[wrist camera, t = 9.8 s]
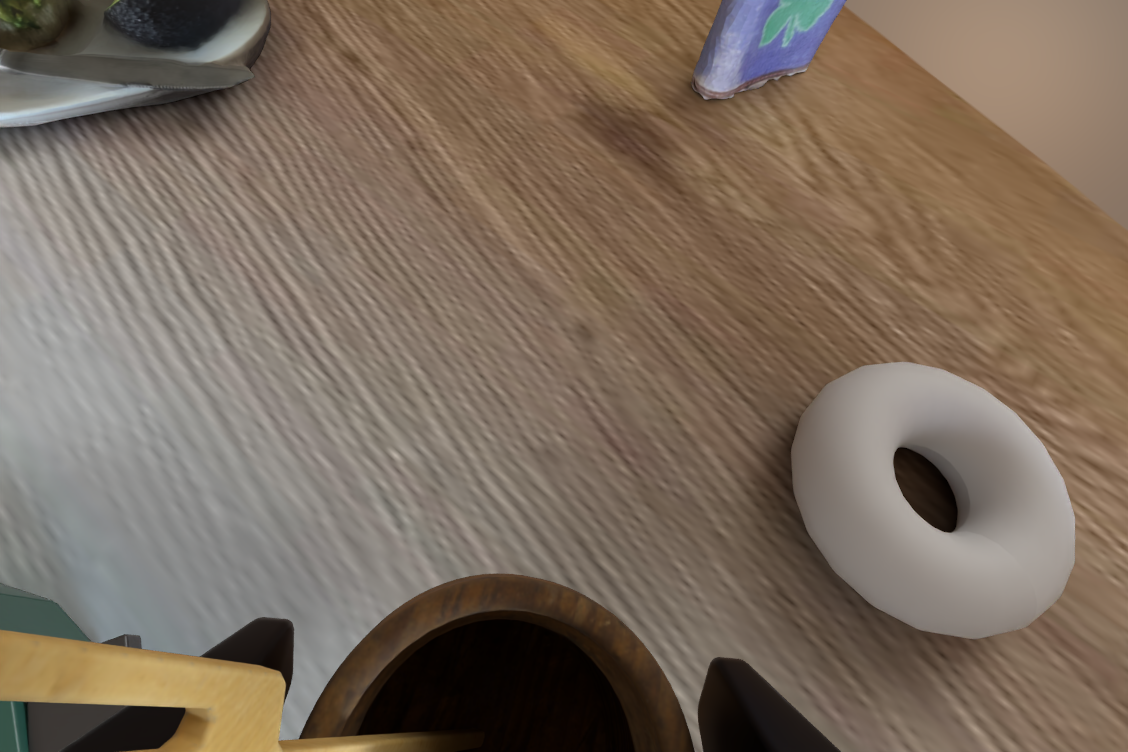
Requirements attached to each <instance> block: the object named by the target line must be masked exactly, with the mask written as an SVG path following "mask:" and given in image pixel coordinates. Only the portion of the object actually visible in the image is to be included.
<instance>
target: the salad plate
mask: <svg viewBox="0 0 1128 752" xmlns="http://www.w3.org/2000/svg"><path fill="white" fill-rule="evenodd" d="M270 25H271V12H270V8H269V4H268V1H267V0H0V128H1V127H19V126H32V125H39V124H43V123H47V122H52V121H56V120H61V119H66V118H71V117H77V116H84V115H89V114H94V113H100V112H105V111H111V110H118V109H125V108H131V107H139V106H148V105H157V104H164V103H169V102H174V101H178V100H181V99H185V98H188V97H192V96H196V95H200V94H204V93H207V92H211V91H214V90H221V89H226V88H229V87H232V86H235V85H238V84H240V83H243V82H245V81H247V80H249V79H251V78H253V77H255V76H254V74H253V73H252V72H251V71H250V70H249V69H250V68H251V66H252V65H253V64H254V62H255V61H256V59H257V58H258V57H259V55H260V53H261V51H262V49H263V46H264V43H265V41H266V38H267V36H268V33H269V30H270Z"/></svg>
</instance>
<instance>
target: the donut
mask: <svg viewBox="0 0 1128 752" xmlns="http://www.w3.org/2000/svg"><path fill="white" fill-rule="evenodd" d="M900 447H904V448H908V449H911V450H913V451H915V452H917V453H919V454H921V455H923V456H924V457H925V458H926V459H928V460H929V461H930V462H931V463H933V464H934V465H935V466H936V467H937V468H938V469H939V471H940V472H941V473H942V474H943V476H944V477H945V478H946V479H947V481H948V483H949V485H950V487H951V489H952V491H953V493H954V495H955V499H956V504H957V509H958V517H957V526H956V528H955V530H954V531H953V532H952V533H947V532H942V531H940V530H938V529H936V528H934V527H932V526H931V525H930V524H929V523H927V522H926V521H925V520H924V519H923V518H921V517H920V516H919V515H918V514H917V513H916V512H915V511H914V510H913V508H912V507H911V506H910V505H909V503H908V502H907V501H906V499H905V498H904V497H903V495H902V492H901V490H900V488H899V486H898V483H897V481H896V479H895V473H894V466H893V458H894V453H895V451H896V450H897V448H900ZM791 462H792V479H793V493H794V496H795V499H796V501H797V504H798V507H799V510H800V512H801V515H802V518H803V521H804V524H805V526H806V529H807V532H808V534H809V535H810V537H811V538H812V540H813V541H814V543H815V544H816V546H817V547H818V549H819V550H820V551H821V553H822V554H823V556H824V557H825V559H826V560H827V562H828V563H829V565H830V566H831V568H832V569H833V571H834V572H835V573H836V574H838V575H839V576H840V577H841V578H842V579H843V580H844V581H845V582H846V583H848V584H849V585H850V586H851V587H852V588H853V589H854V590H855V591H856V592H857V593H859V594H860V595H861V596H862V597H863V598H864V599H865V600H866V601H867V602H869V603H870V604H871V605H873V606H874V607H875V608H877V609H879V610H881V611H883V612H885V613H887V614H889V615H891V616H893V617H894V618H896V619H898V620H900V621H902V622H904V623H906V624H908V625H910V626H912V627H914V628H916V629H918V630H921V631H927V632H933V633H939V634H945V635H951V636H957V637H963V638H969V639H980V638H984V637H989V636H993V635H997V634H1001V633H1006V632H1010V631H1014V630H1018V629H1021V628H1025V627H1027V626H1028V625H1029V624H1031V623H1032V622H1033V621H1034V620H1035V619H1037V618H1038V617H1039V616H1040V615H1041V614H1042V613H1044V612H1045V611H1046V610H1047V609H1048V608H1049V607H1051V606H1052V605H1053V604H1054V603H1055V602H1056V601H1057V600H1058V599H1059V598H1060V596H1061V595H1062V593H1063V590H1064V588H1065V585H1066V583H1067V580H1068V578H1069V575H1070V573H1071V571H1072V568H1073V566H1074V563H1075V516H1074V513H1073V510H1072V506H1071V503H1070V500H1069V496H1068V493H1067V490H1066V486H1065V483H1064V480H1063V478H1062V476H1061V474H1060V473H1059V471H1058V469H1057V467H1056V466H1055V464H1054V462H1053V461H1052V459H1051V457H1050V455H1049V454H1048V452H1047V450H1046V448H1045V447H1044V445H1043V443H1042V442H1041V441H1040V440H1039V439H1038V438H1037V437H1036V436H1035V434H1034V433H1033V432H1032V431H1031V430H1030V429H1029V428H1028V426H1027V425H1026V424H1025V423H1024V422H1023V421H1022V420H1021V419H1020V417H1019V416H1018V415H1017V414H1016V413H1015V412H1014V411H1012V410H1011V409H1010V408H1008V407H1007V406H1006V405H1004V404H1003V403H1002V402H1000V401H999V400H998V399H997V398H995V397H994V396H993V395H991V394H990V393H989V392H987V391H986V390H985V389H983V388H981V387H979V386H977V385H975V384H973V383H971V382H969V381H966V380H964V379H962V378H960V377H958V376H956V375H954V374H952V373H949V372H947V371H945V370H943V369H939V368H934V367H929V366H924V365H920V364H915V363H910V362H894V363H884V364H874V365H864V366H862V367H859V368H857V369H855V370H853V371H851V372H849V373H847V374H845V375H843V376H841V377H840V378H838V379H836V380H834V381H832V382H830V383H828V384H826V385H825V386H824V388H823V389H822V390H821V391H820V393H819V394H818V395H817V396H816V398H815V399H814V400H813V401H812V402H811V404H810V405H809V406H808V407H807V409H806V410H805V411H804V412H803V414H802V415H801V417H800V421H799V424H798V427H797V431H796V434H795V438H794V441H793V445H792V448H791Z"/></svg>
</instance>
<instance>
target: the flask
mask: <svg viewBox="0 0 1128 752" xmlns="http://www.w3.org/2000/svg"><path fill="white" fill-rule="evenodd" d="M845 2H846V0H722V2H721V5H720V7H719V10H718V13H717V15H716V18H715V20H714V23H713V25H712V28H711V30H710V32H709V35H708V37H707V40H706V42H705V44H704V47H703V50H702V52H701V56H700V59H699V61H698V63H697V65H696V67H695V70H694V73H693V77H692V82H691V84H692V88H693V90H694V91H697V92H698V93H699V92H700V94H701V95H702V96H703V98H704V99H706V100H707V99H710V98H716V99H717V98H718V99H725V98H726V99H727V98H731V97H734V94H735V93H737V92H740V91H743V90H744V91H746V90H748V89H749V90H752V89H755V88H757V89H758V88H759V87H761V86H763V85H764V84H765V83H766V82H767V81H768V79H773V78H774V79H775V80H778V79H779V78H780V77H781V76H783V75H790V76H791V75H793V74H795V73H799V72H805V71H806V70H807V68H808V66H809V64H810V62H811V60H812V58H813V56H814V54H815V52H816V51H817V49H818V47H819V45H820V44H821V42H822V41H823V39H824V37H825V35H826V34H827V32H828V30H829V28H830V26H831V24H832V23H833V21H834V20H835V18H836V17H837V15H838V14H839V12H840V10H841V9H842V7H843V5H844V4H845ZM693 78H694V79H693ZM694 80H695V85H696V88H697V90H696V88H695V86H694Z"/></svg>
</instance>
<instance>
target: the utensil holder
mask: <svg viewBox="0 0 1128 752" xmlns="http://www.w3.org/2000/svg"><path fill="white" fill-rule="evenodd" d="M285 688H286V683H285V680H284V678H283V676H282V674H281V672H279V671H276V670H273V669H270V668H266V667H263V666H260V665H253V664H246V663H239V662H232V661H225V660H218V659H211V658H203V657H196V656H189V655H181V654H174V653H167V652H159V651H152V650H145V649H138V648H130V647H123V646H116V645H108V644H101V643H94V642H86V641H79V640H72V639H64V638H57V637H50V636H43V635H35V634H28V633H21V632H13V631H6V630H0V701H22V702H50V703H77V704H104V705H132V706H159V707H185V709H186V711H185V715H184V717H183V719H182V721H181V723H180V725H179V727H178V729H177V731H176V733H175V734H174V735H173V736H172V738H170V739H169V740H168V741H167V742H166V743H165V744H164V745H162V746H161V747H160V748H159V749H149V750H137V751H124V752H695V751H694V747H693V743H692V739H691V735H690V732H689V729H688V726H687V723H686V720H685V717H684V714H683V712H682V709H681V707H680V704H679V702H678V699H677V697H676V695H675V693H674V691H673V689H672V687H671V685H670V683H669V681H668V680H667V678H666V676H665V674H664V672H663V671H662V669H661V668H660V666H659V665H658V663H657V662H656V660H655V659H654V657H653V656H652V654H651V653H650V652H649V650H648V649H647V648H646V647H645V645H644V644H643V643H642V642H641V641H640V639H639V638H638V637H637V636H636V635H635V634H634V633H633V632H632V631H631V630H630V629H629V628H628V627H627V626H626V625H625V624H624V623H623V622H622V621H621V620H619V619H618V618H617V617H616V616H615V615H613V614H612V613H611V612H610V611H608V610H607V609H605V608H604V607H602V606H601V605H599V604H598V603H597V602H595V601H593V600H591V599H590V598H588V597H586V596H585V595H583V594H581V593H579V592H577V591H574V590H572V589H570V588H568V587H565V586H562V585H560V584H557V583H554V582H550V581H547V580H543V579H538V578H533V577H528V576H523V575H515V574H483V575H476V576H469V577H465V578H461V579H456V580H453V581H450V582H447V583H444V584H441V585H439V586H436V587H434V588H432V589H429V590H427V591H425V592H423V593H421V594H419V595H418V596H416V597H414V598H413V599H411V600H409V601H408V602H406V603H404V604H403V605H402V606H400V607H399V608H397V609H396V610H395V611H393V612H392V613H391V614H389V615H388V616H387V617H386V618H385V619H383V620H382V621H381V622H380V623H379V624H378V625H377V626H376V627H375V628H374V629H373V630H371V631H370V632H369V634H368V635H367V636H366V637H365V638H364V639H363V640H362V641H361V642H360V643H359V644H358V645H357V646H356V647H355V648H354V649H353V650H352V652H351V653H350V654H349V655H348V656H347V658H346V659H345V660H344V661H343V663H342V664H341V665H340V666H339V668H338V669H337V671H336V672H335V673H334V675H333V676H332V678H331V679H330V681H329V682H328V684H327V685H326V687H325V689H324V690H323V692H322V694H321V695H320V697H319V699H318V700H317V702H316V704H315V706H314V708H313V710H312V712H311V714H310V716H309V718H308V720H307V722H306V724H305V726H304V728H303V731H302V733H301V735H300V738H299V739H298V740H282V741H278V740H279V733H280V725H281V718H282V711H283V703H284V696H285Z"/></svg>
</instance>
